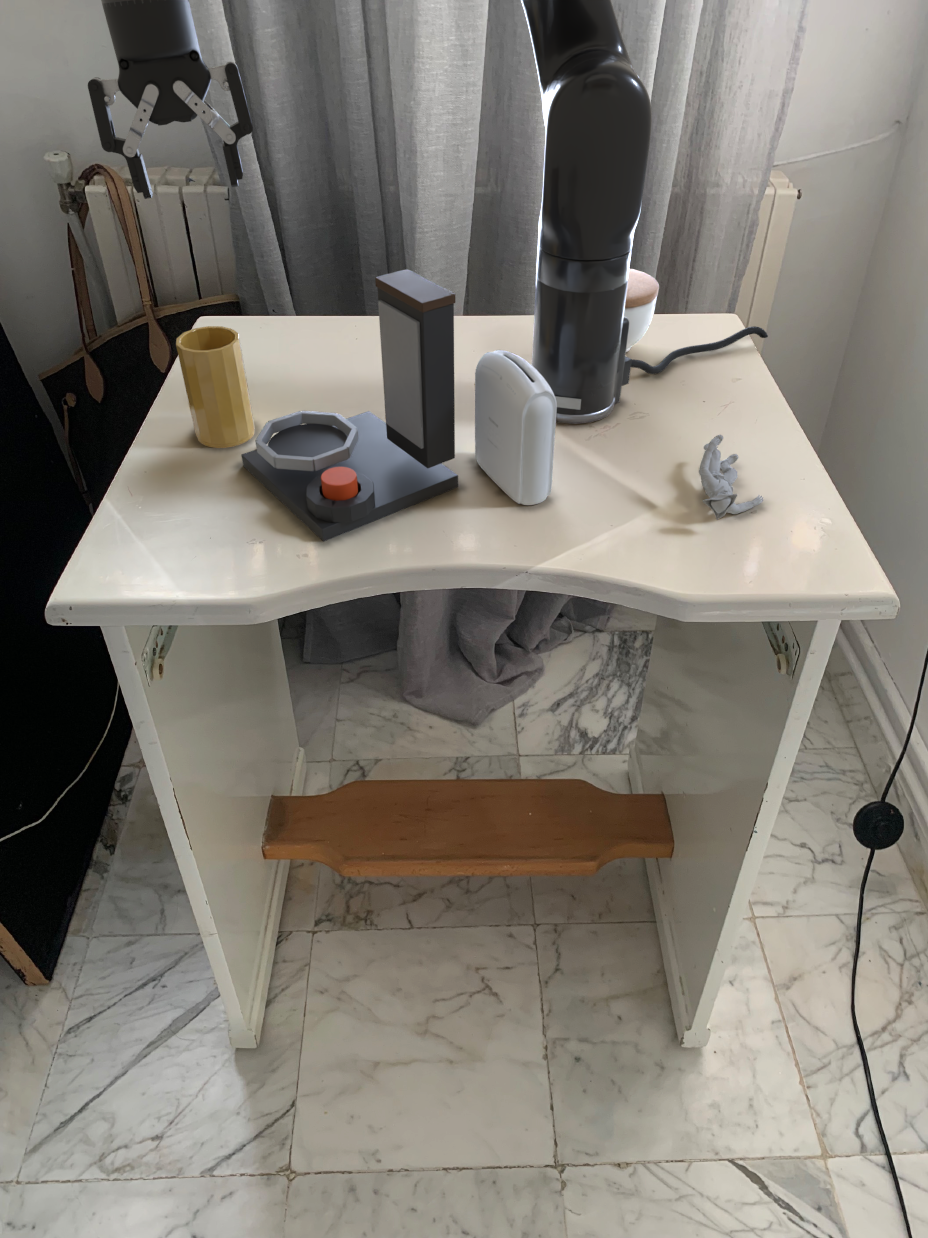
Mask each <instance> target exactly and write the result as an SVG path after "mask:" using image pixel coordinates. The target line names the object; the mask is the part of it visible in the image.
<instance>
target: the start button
mask: <svg viewBox="0 0 928 1238" xmlns="http://www.w3.org/2000/svg"><path fill="white" fill-rule="evenodd" d="M321 483H322V492H323V496H324V497H325V498H326V499H330V500H334V501H340V500H347V499H350V498H352V497H355V496H356V495H357V493H358V485H357V475H356V472H355V471H354V470H352V469H350V468H347V467H334V468H330V469H328V470H326V471H324V472H323V473H322V475H321Z"/></svg>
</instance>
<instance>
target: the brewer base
mask: <svg viewBox="0 0 928 1238" xmlns="http://www.w3.org/2000/svg"><path fill="white" fill-rule="evenodd" d="M345 419H346V420H348V421H349V422H350V423H352V424H353V425H354V426H356V427H357V429H358V442H357V444H356V446H355V448H354V450H353V452H352V455H351V457H350V458H348V460H345V461H342V462H339V463H337V464H334V465H331V466H328V467H326V468H323V469H320V470H317V471H315V470H314V471H302V470H289V469H277V468H274V467H273V466H272V465H271V464H270V463H269V462H268V461H266V460H265V459H264V458H263V457H262V456H261V455H260V454H259V453H258V452H257V448H256V449H253V450H250V451H246V452H244V453H242V454H241V455H240V456H241V462H242V466H243V468H245V469H246V470H247V471H248V472H249V473H250V474H251V475H252V476H253V477H254V478H255V479H256V480H257V481H258V482H259V483H261V484H262V486H263V487H265V488H266V489H267V490H268V491H269V492H270V493H271V494H272V495H273V496H274V497H275V498H276V499H278V501H279V502H281V503H282V504H283V505H284V506H285V507H286V508H287V509H288V510H289V511H290V512H291V513H292V514H293V515H295V516H296V517H297V519H299V520H300V521H301V522H302V523H303V524H304V525H305V526H306V527H307V528H308V529H309V530H310V531H311V532H313V533H314V535H316V536H317V537H318V538H319V539H320V540H321V541H322V542H326V541H329V540H332V539H334V538H337V537H339V536H342V535H343V534H346V533H349V532H352V531H353V530H356V529H358V528H361V527H363V526H366V525H368V524H371V523H374V522H375V521H378V520H381V519H383V518H386V517H388V516H390V515H392V514H393V515H394V514H396V513H398V512H400V511H402V510H403V511H404V510H406V509H408V508H411V507H412V506H416V505H417V504H420V503H422V502H426V501H428V500H429V499H432V498H434V497H437V496H440V495H442V494H444V493H448V492H450V491H452V490H454V489H456V488H459V474H458V473H456V472H454V471H453V470H452V469H450V468H449V467H448V466H446V465H445V464H444V463H441V464H438V465H436V466H433V467H431V468H426V467H425V466H424V465H422V464H421V463H419V462H418V461H417V460H415V459H414V458H413V457H411V456H410V455H409V454H407V453H406V452H405V451H403V450H402V449H401V448H399V447H398V446H396V445H395V444H394V443H392V442H391V441H390V440H388V439H387V430H386V421H384V420H382V419H381V417H378V416H377V415H376V414H374V413H373V412H371V411H370V410H367V411H365V412H362V413H359V414H356V415H353V416H350V417H346V418H345ZM332 427H335V428H337V427H336V426H332ZM337 429H338V428H337ZM339 430H340V429H339ZM346 436H347V435H346ZM347 438H348V436H347ZM334 467H347V468H350V469H352V470H354V471H355V472H356V475H357V485H358V493H357V495H356V496H355V497H352V498H350V499H347V500H340V501H334V500H330V499H326V498H325V497H324V496H323V492H322V483H321V475H322V473H323V472H324V471H326V470H328V469H330V468H334Z"/></svg>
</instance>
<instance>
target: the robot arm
mask: <svg viewBox="0 0 928 1238" xmlns="http://www.w3.org/2000/svg"><path fill="white" fill-rule="evenodd" d="M100 1H101V6H102V10H103V13H104V16H105V21H106V24H107V28H108V32H109V35H110V39H111V43H112V46H113V50H114V53H115V57H116V60H117V61H116V62H117V66H118V77H117V78H106V79H104V78H100V77H97V76H96V77H93V78H91V79H90V80H89V81H87V90H88V94H89V97H90V103H91V106H92V110H93V115H94V119H95V124H96V128H97V132H98V136H99V141H100V145H101V148H102V149H103V151H105V152H106V153H114V154H119V155H121V156H122V157H123V158H124V159H125V161H126V164H127V167H128V171H129V175H130V178H131V181H132V186H133V188H134V190H135V191H136V193H137V194H141V193H142V195H143V196H142V197H143V199H145V200H146V199H152V198H153V195H154V194H153V190H152V186H151V182H150V178H149V175H148V171H147V168H146V163H145V160H144V156H143V154H142V153H140V150H139V148H140V145H141V143H142V141H143V138H144V135H145V134H146V131H147V128H148V125H149V122H150V123H151V124H153V125H157V126H158V127H160V126H166V125H169V124H171V123H173V122H178V123H191V122H192V121H194V120H195V119H196V118H197V117H199V118H200V119H201V120H202V121H203V122H204V123H205V124H206V125H207V126H208V127H209V128H210V129H211V130H212V131H213V132H215V133H216V135H218V136H219V137H220V138H221V139H222V142H223V143H222V150H223V151H222V152H223V154H224V159H225V164H226V168H227V172H228V177H229V182H230V187H231V188H237V187H239V180H243V178H244V177H243V176H244V170H243V165H242V161H241V156H240V151H239V146H238V143H239V141H240V140H241V139H242V138H244V137H246V136H247V135H248V136H249V135H251V134H252V133H253V130H254V127H253V121H252V117H251V114H250V111H249V110H250V109H249V107H248V102H247V98H246V95H245V91H244V86H243V83H242V79H241V76H240V75H241V74H240V71H239V68H238V65H237V64H236V63H235V62H234V61H227V62H226V63H225V64H221V65H216V66H211V67H208V66H207V64H206V63H205V61H204V60H203V57H202V52H201V48H200V44H199V40H198V39H199V38H198V35H197V31H196V27H195V21H194V17H193V13H192V9H191V4H190V0H100ZM520 2H521V5H522V8H523V12H524V16H525V19H526V23H527V27H528V31H529V36H530V41H531V45H532V49H533V50H532V51H533V55H534V60H535V66H536V70H537V71H536V72H537V77H538V83H539V89H540V95H541V103H542V116H543V122H544V127H545V138H544V139H545V141H544V143H545V144H544V161H543V176H542V177H543V178H542V197H541V208H540V213H539V219H538V235H537V237H538V238H537V252H536V253H537V254H536V270H535V273H536V274H535V293H534V313H533V314H534V315H533V331H532V347H531V348H532V349H531V351H532V352H531V365H532V366H533V367H534V368H535V369H536V370H537V371H538V372H539V373H540V374H541V375H542V376H543V378H544V379H545V380H546V382H547V383H548V384H549V386H550V388H551V389H552V391H553V393H554V396H555V398H556V402H557V411H556V423H562V424H573V425H574V424H575V425H576V424H588V423H593V422H597V421H599V420H602V419H604V418H606V417H608V416H609V415H611V414H612V412H613V411H614V407H615V405H617V404H619V403H620V402H621V393H622V387H623V386H627V385H628V384H630V377H631V369H632V368H635V369H640V370H642V371H644V373H646V374H649V375H657V374H660V373H661V372H663V371H664V370H666V368H667V367H668V366H669V365H670V364H671V363H672V362H673V361H674V360H675V359H677V358H680V357H683V356H687V355H692V354H698V353H705V352H712V351H716V350H717V351H718V350H721V349H723V348H726V347H728V346H730V345H733V344H734V343H735V342H738V341H739V340H741V339H743V338H746V337H747V336H750V335H756V336H758V337H759V338H761V339H767V338H768V337H769V335H768V333H767V332H766V330H764V328H762V327H760V326H755V325H754V326H749V327H745V328H743V329H741V330H738V331H737V332H735V333H733V334H731V335H730V336H728V337H725V338H724V339H721V340H718V341H714V342H709V343H704V344H696V345H688V346H685V347H681V348H678V349H676V350H672V352H670V353H669V354H667V355H666V356H665V357H664V358H663V359H662V360H661V362H660V363H658V364H657V365H654V366H653V365H651V364H649V363H648V362H646V361H644V360H641V359H636V358H635V359H632V358H630V357H628V356H626V353H627V352H626V347H627V339H628V331H629V320H628V318H626V317H624V309H625V301H626V292H627V284H628V275H629V269H630V265H631V257H632V249H633V241H634V235H635V230H636V227H637V225H638V221H639V218H640V214H641V209H642V203H643V196H644V189H645V182H646V181H645V180H646V175H647V167H648V161H649V152H650V145H651V137H652V127H653V126H652V125H653V111H652V103H651V98H650V96H649V92H648V90H647V89H646V86H645V85H644V82H643V81H642V80H641V78H640V76H639V75H638V73H637V72H636V70H635V67H634V65H633V63H632V61H631V59H630V55H629V53H628V50H627V48H626V45H625V42H624V39H623V35H622V32H621V30H620V27H619V22H618V20H617V16H616V13H615V9H614V5H613V2H612V0H520ZM212 80H213V81H216V82H218V84H219V86H220V89H222V90H223V91H226V92H230V95H231V100H232V103H233V106H234V110H235V114H236V118H237V121H236V122H234V123H233V124H231V125H230V124H229V123H228V122H227V121H226V120H225V119H224V118H223V117H222V116H221V115H220V113H218V111H217V110H216V109H215V108H214V107H213V106H212V105H211V104H210V103H209V102H208V101H207V100H206V97H207V94H208V91H209V89H210V86H211V84H212ZM117 92H120V93H121V94H122V95H123V96H124V97H125V98H126V100H128V101H129V102H130V103H131V104H132V105H133V107H135V109H136V111H135V115H134V117H133V118H132V122H131V124H130V127H129V130H128V134H127V136H126V138H122V137H118V136H117V134H116V130H115V125H114V121H113V116H112V112H111V108H110V106H112V105H113V104H114V103H115V102H116V94H117Z"/></svg>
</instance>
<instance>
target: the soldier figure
mask: <svg viewBox="0 0 928 1238" xmlns="http://www.w3.org/2000/svg"><path fill="white" fill-rule="evenodd" d="M723 440H724V436H723V435H722V434H718V435H716V436H714V437H713V438H712V439H711V440H710V441H709V442H708V443H705V444H704V446H703V450H704V453H703V455H702V458H701V460H700V465H699V468H698V475H699V476H700V482H701V487H703V490H704V491H705V495H706V496H708V498H705V499H702V503H703V504H705V505H706V506H707V507H708V508H709V509H710V510H711V511H712V512H713V514H714V516H715V520H716V521H718V520H719V519H721V518H723V517H724V516H725V515H726V513H727V514H732V515H737V514H740V513H744V512H746V511H748V510H751V509H753V508H754V507H757V506H759V505H760V504H762V503H763V502H764V497H763V496H762V495H760V494H758V496H756V497H755V498H753V499H752V500H750V501H749V500H747V501H745V502H742V503H736V502H735V501H736V499H737V498H738V494H737V493H734V487H733V484H734V483H735V481H736V480H737V479H738V477H739V475H738V470H737V469H735V467H732V466H731V465H733V464H735V463H737V461H738V460H739V455H738V454H737V453H733V454H730V455H728V457H727V458H726V459H723V460H721V457H722V453H721V450H720V449H718V448H719V445H720V444H721V443H722V442H723ZM721 472H722V473H721Z"/></svg>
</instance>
